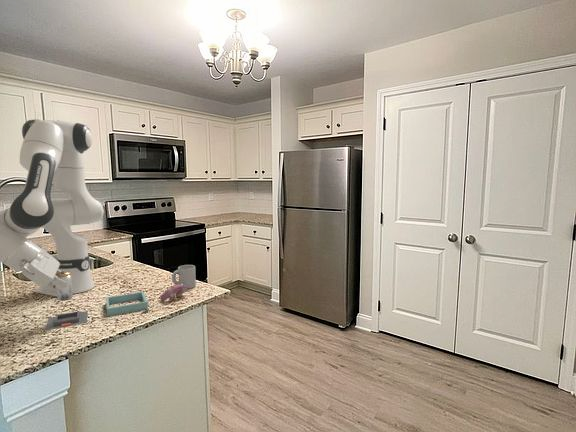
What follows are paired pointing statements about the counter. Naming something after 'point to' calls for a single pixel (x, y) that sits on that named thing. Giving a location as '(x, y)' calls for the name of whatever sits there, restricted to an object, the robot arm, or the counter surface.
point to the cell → (67, 290)
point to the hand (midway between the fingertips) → (66, 283)
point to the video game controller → (173, 292)
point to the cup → (185, 276)
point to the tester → (66, 320)
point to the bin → (130, 307)
